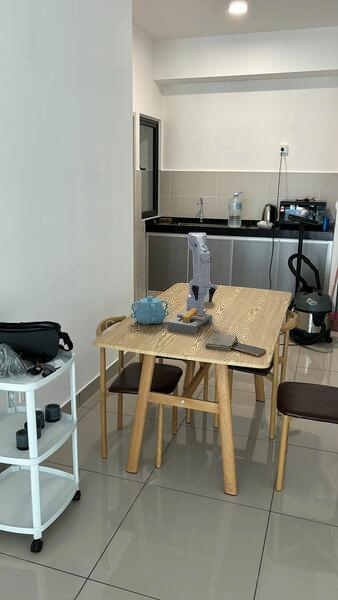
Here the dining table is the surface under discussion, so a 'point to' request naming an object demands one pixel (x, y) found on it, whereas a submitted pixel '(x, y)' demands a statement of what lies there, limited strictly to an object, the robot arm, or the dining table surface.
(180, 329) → the grey frame
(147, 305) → the decorative pot
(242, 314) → the dining table surface
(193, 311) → the notched orange plank
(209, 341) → the washcloth
